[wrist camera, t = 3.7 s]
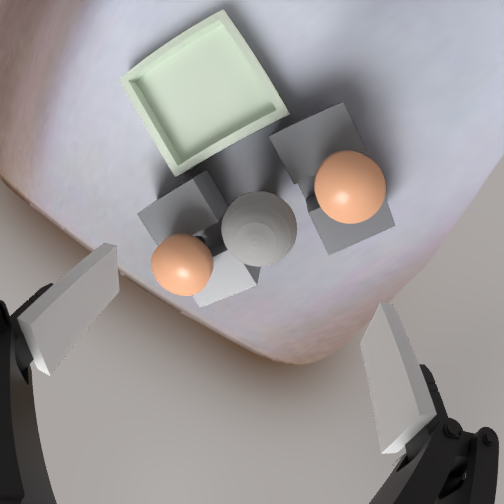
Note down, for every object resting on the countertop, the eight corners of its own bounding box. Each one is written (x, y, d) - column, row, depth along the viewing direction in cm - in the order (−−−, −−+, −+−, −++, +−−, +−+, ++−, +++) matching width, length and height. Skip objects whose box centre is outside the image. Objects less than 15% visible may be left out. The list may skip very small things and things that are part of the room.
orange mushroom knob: (299, 160, 24) (302, 171, 19) (352, 136, 22) (369, 141, 17) (324, 211, 25) (333, 234, 20) (374, 188, 24) (395, 206, 19)
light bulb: (266, 239, 30) (254, 294, 21) (226, 200, 28) (197, 241, 20) (306, 204, 28) (315, 246, 19) (267, 162, 26) (255, 185, 17)
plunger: (164, 231, 28) (140, 256, 23) (205, 208, 27) (186, 230, 22) (191, 272, 30) (173, 303, 25) (233, 253, 28) (221, 283, 23)
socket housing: (156, 200, 29) (136, 213, 25) (334, 105, 23) (343, 102, 19) (210, 284, 33) (200, 307, 29) (380, 209, 27) (395, 225, 23)
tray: (129, 81, 24) (118, 79, 22) (228, 16, 20) (223, 9, 19) (183, 173, 28) (175, 177, 26) (289, 114, 24) (289, 114, 22)
